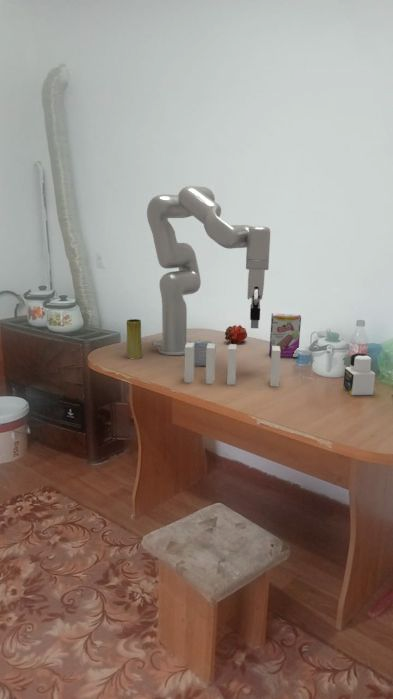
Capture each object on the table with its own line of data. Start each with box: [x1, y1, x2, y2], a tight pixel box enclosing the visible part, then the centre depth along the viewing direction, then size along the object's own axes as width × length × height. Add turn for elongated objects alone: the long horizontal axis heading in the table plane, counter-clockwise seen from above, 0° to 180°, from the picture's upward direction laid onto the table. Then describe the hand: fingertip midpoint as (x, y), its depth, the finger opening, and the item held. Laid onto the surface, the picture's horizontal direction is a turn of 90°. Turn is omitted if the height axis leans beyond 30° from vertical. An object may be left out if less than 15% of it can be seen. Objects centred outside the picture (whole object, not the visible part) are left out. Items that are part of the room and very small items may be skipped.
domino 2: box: [205, 342, 216, 385], centre depth 170 cm, size 2×6×12 cm, turn 174°
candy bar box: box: [268, 312, 302, 358], centre depth 199 cm, size 11×5×16 cm, turn 84°
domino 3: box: [226, 343, 238, 386], centre depth 169 cm, size 2×6×12 cm, turn 174°
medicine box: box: [188, 339, 213, 367], centre depth 188 cm, size 8×4×9 cm, turn 107°
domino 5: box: [269, 346, 281, 388], centre depth 168 cm, size 2×6×12 cm, turn 174°
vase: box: [125, 318, 143, 359], centre depth 196 cm, size 6×6×14 cm
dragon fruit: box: [224, 324, 248, 344], centre depth 220 cm, size 8×8×12 cm
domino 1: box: [184, 342, 195, 384], centre depth 171 cm, size 2×6×12 cm, turn 174°
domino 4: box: [250, 297, 260, 329], centre depth 176 cm, size 2×6×12 cm, turn 174°
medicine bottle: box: [343, 352, 376, 396], centre depth 161 cm, size 7×7×12 cm
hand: (254, 317), depth 176 cm, fingers closed on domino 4, 6 cm apart
